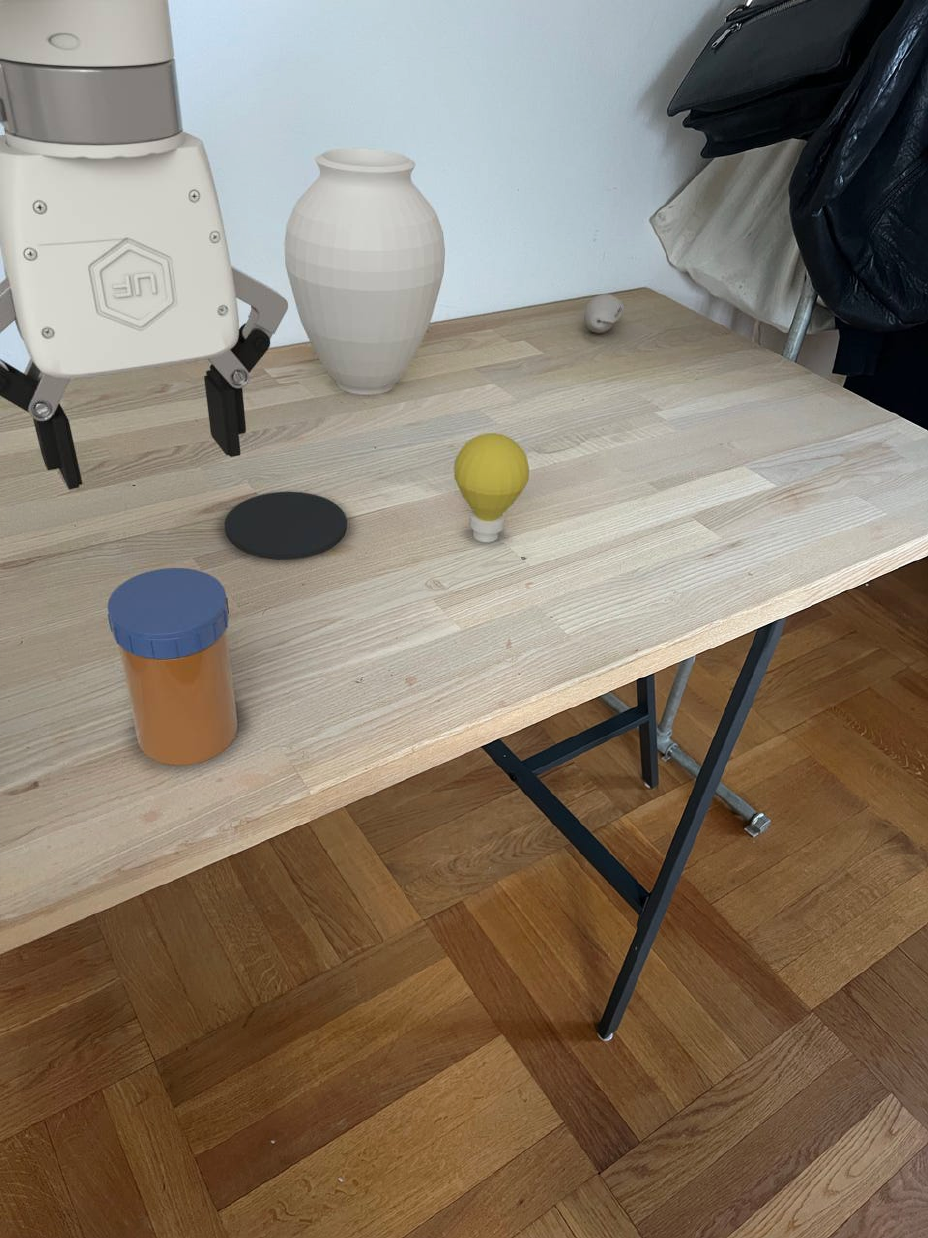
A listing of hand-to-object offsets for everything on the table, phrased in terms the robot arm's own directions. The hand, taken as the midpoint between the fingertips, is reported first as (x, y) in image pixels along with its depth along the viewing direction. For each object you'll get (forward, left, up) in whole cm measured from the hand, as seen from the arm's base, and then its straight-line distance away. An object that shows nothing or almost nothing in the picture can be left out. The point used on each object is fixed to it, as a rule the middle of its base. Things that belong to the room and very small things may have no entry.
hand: (150, 460), depth 51 cm
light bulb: (+32, +13, -21) cm, 40 cm away
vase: (+37, +49, -21) cm, 65 cm away
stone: (+76, +53, -21) cm, 95 cm away
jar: (0, 0, -20) cm, 20 cm away
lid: (0, 0, -10) cm, 10 cm away
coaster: (+16, +22, -20) cm, 34 cm away
